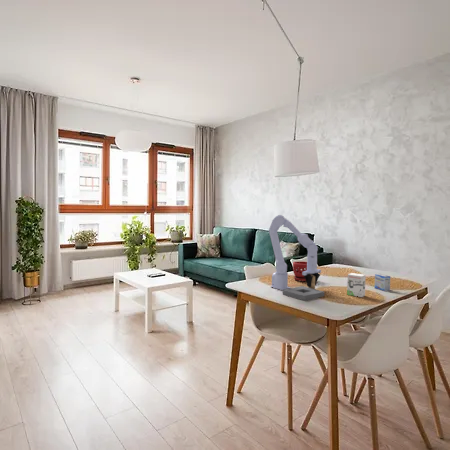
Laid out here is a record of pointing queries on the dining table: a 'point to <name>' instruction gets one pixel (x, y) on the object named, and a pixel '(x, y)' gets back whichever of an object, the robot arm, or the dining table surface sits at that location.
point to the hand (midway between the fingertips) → (311, 286)
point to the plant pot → (299, 270)
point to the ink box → (356, 284)
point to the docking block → (303, 293)
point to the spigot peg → (312, 283)
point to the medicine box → (382, 282)
